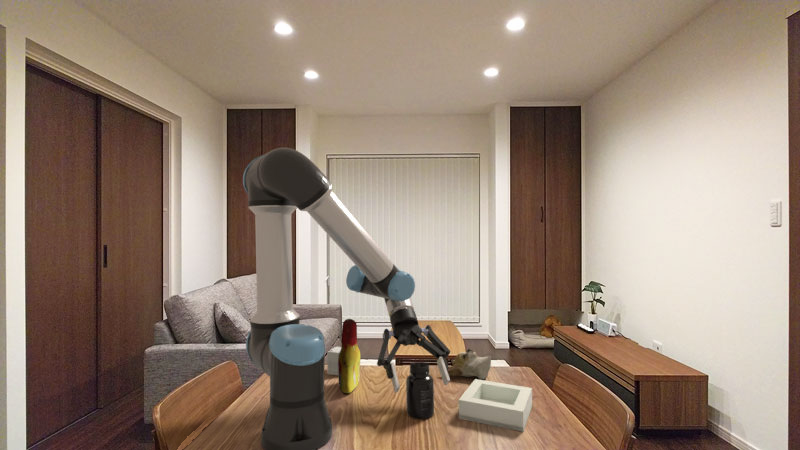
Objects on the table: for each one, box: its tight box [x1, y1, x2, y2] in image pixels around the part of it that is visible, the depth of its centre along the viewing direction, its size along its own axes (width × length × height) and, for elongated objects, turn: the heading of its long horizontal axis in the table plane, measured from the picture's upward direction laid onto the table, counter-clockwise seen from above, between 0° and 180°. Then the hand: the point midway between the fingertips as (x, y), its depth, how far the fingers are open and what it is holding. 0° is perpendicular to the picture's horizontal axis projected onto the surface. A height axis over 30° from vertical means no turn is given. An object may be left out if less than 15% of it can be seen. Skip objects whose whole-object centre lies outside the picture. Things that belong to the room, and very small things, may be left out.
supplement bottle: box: [405, 361, 435, 420], centre depth 97 cm, size 7×7×12 cm
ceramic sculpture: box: [447, 348, 492, 380], centre depth 123 cm, size 11×9×15 cm
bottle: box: [338, 318, 361, 394], centre depth 114 cm, size 12×6×20 cm, turn 177°
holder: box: [458, 378, 533, 433], centre depth 98 cm, size 15×15×4 cm
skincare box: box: [326, 346, 342, 376], centre depth 127 cm, size 6×6×7 cm
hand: (422, 386), depth 98 cm, fingers open, 13 cm apart
